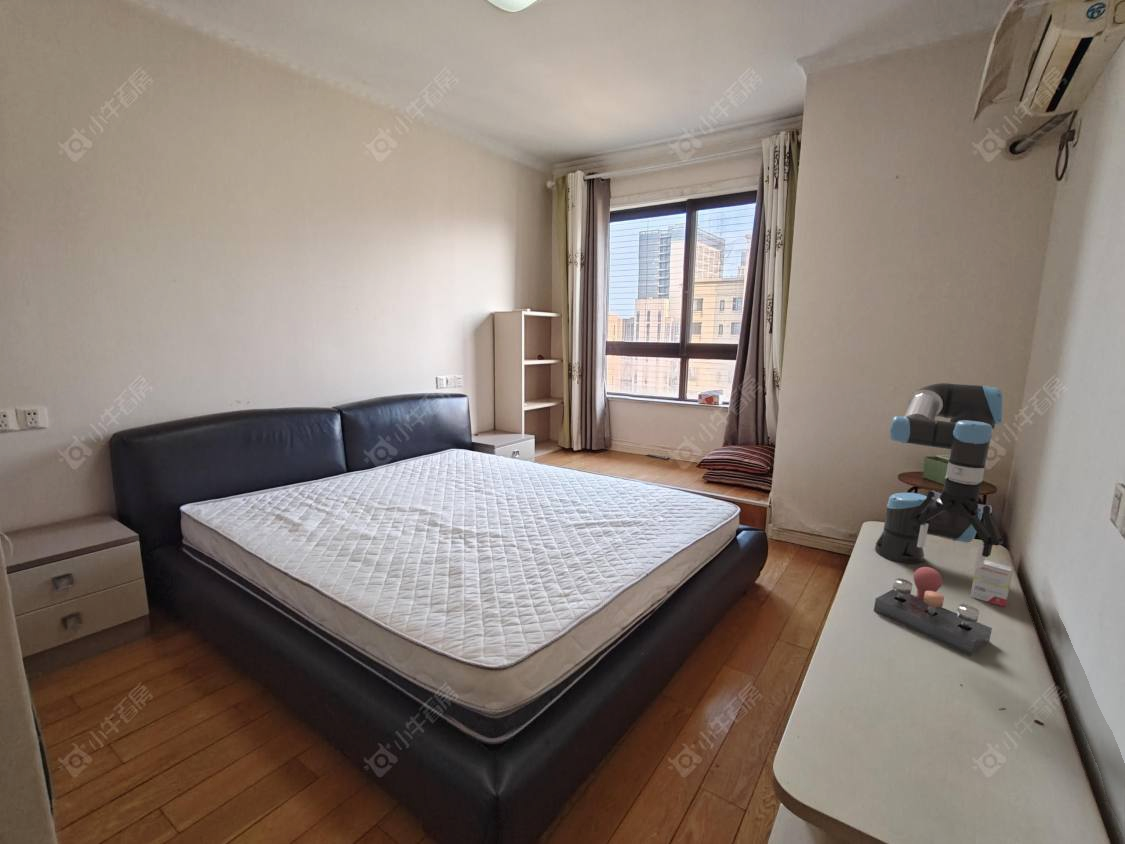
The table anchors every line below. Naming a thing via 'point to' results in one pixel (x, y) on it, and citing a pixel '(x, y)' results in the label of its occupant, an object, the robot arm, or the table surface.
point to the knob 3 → (967, 615)
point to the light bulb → (926, 581)
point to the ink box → (992, 583)
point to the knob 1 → (902, 588)
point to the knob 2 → (933, 601)
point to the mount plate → (933, 622)
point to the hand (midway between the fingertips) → (948, 556)
